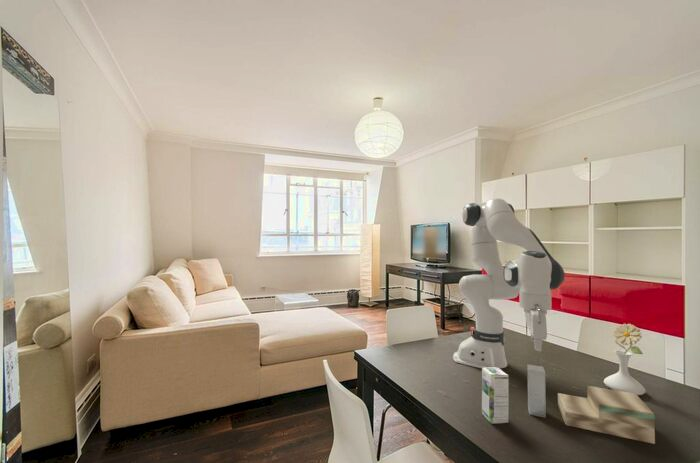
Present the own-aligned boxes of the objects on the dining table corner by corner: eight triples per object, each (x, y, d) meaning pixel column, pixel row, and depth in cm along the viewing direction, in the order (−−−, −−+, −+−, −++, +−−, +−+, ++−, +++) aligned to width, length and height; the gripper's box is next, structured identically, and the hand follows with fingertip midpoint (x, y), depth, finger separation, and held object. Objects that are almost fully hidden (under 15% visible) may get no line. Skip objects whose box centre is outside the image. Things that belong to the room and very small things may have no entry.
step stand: (566, 425, 91) (565, 398, 91) (557, 405, 102) (557, 380, 102) (655, 444, 83) (654, 414, 83) (636, 420, 94) (635, 393, 94)
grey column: (529, 414, 97) (528, 369, 97) (527, 407, 101) (527, 364, 101) (545, 417, 95) (545, 372, 95) (543, 410, 99) (543, 366, 99)
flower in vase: (595, 383, 118) (594, 317, 118) (626, 383, 118) (625, 317, 118) (625, 401, 105) (623, 327, 105) (659, 401, 104) (658, 327, 105)
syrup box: (481, 413, 97) (480, 367, 98) (498, 412, 98) (498, 366, 98) (490, 424, 92) (490, 375, 92) (509, 423, 92) (509, 374, 93)
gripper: (552, 309, 88) (553, 358, 87) (542, 297, 106) (542, 338, 106) (527, 307, 91) (527, 355, 90) (521, 296, 109) (522, 335, 109)
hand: (536, 345), depth 98 cm, fingers open, 8 cm apart
